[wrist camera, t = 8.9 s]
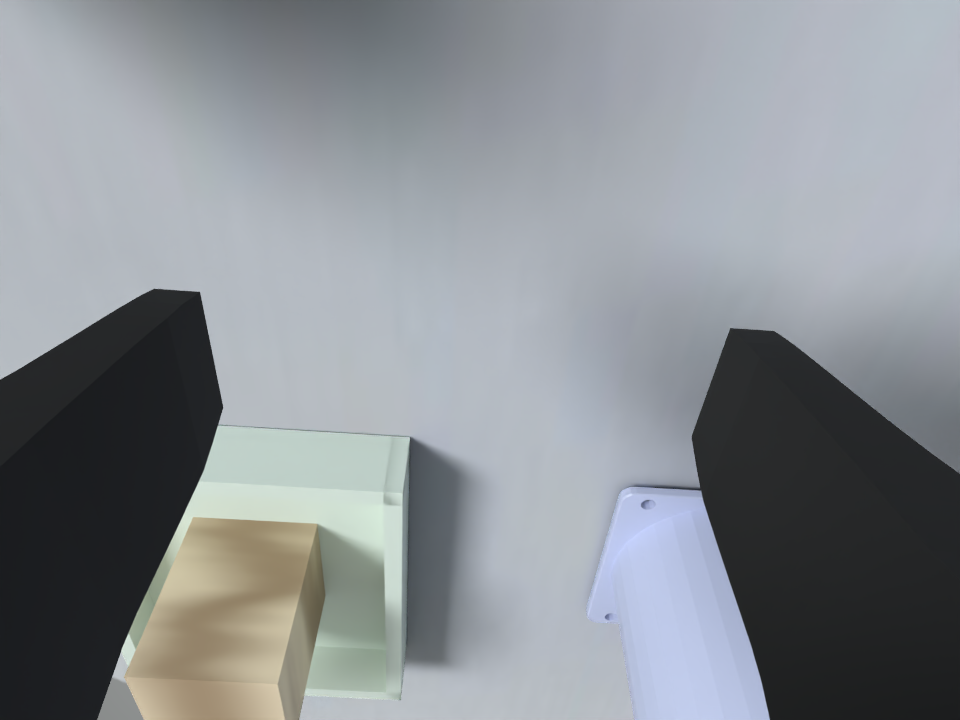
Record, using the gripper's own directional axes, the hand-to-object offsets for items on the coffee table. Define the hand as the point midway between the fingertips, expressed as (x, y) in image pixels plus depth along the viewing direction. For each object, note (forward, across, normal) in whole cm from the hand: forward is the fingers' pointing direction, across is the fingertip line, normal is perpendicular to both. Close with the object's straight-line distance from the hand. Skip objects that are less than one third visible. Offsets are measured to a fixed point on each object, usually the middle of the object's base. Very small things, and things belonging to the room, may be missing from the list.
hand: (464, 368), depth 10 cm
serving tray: (+9, +7, +17) cm, 21 cm away
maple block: (+9, +7, +17) cm, 20 cm away
